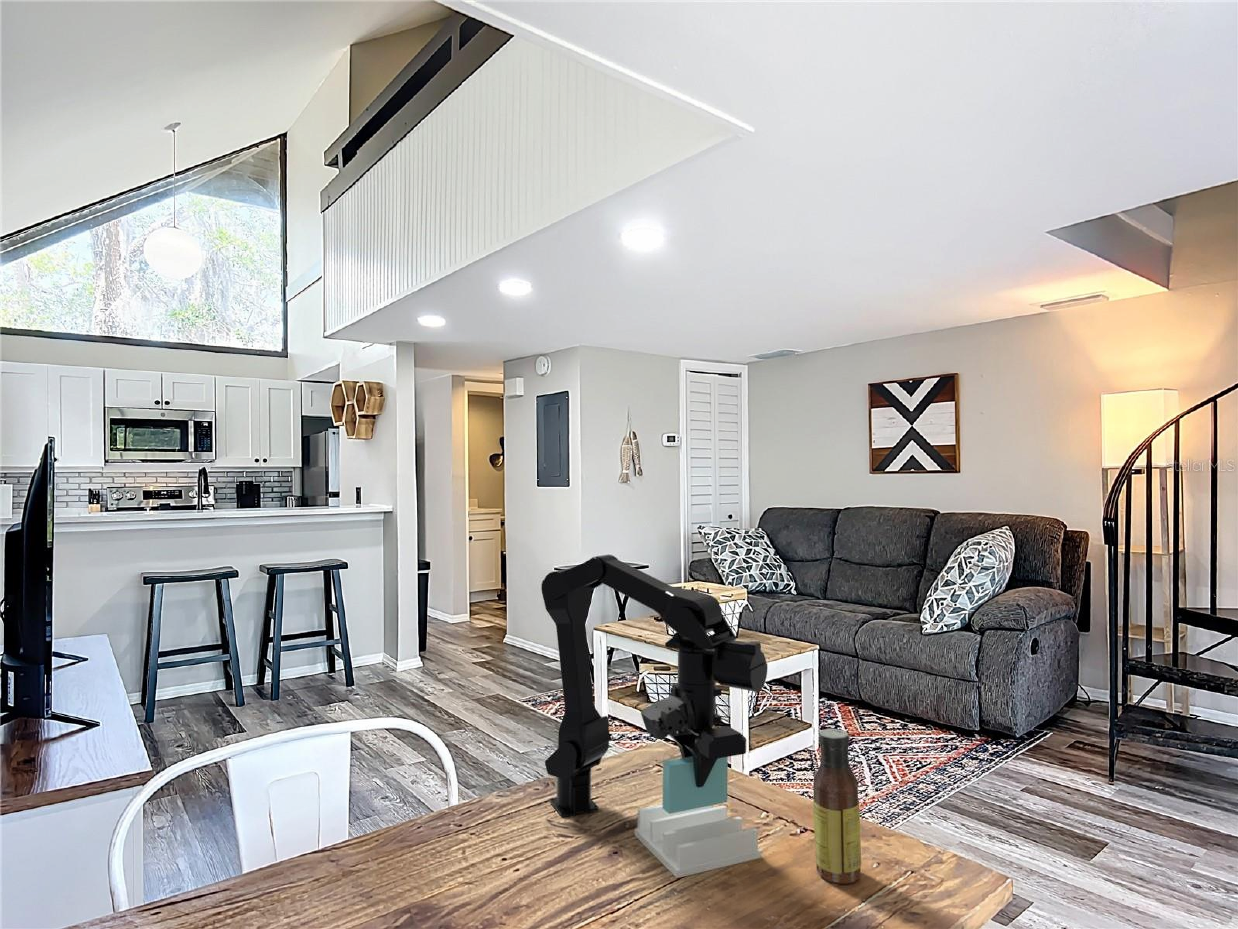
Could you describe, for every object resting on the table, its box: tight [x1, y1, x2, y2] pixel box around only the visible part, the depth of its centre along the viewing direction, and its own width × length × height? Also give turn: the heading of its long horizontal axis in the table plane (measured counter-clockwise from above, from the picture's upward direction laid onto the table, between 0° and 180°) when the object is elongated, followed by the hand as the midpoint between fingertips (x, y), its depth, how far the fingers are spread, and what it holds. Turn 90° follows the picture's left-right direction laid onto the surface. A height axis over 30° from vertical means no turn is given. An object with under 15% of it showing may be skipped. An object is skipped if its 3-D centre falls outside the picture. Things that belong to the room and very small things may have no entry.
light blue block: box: [662, 756, 729, 814], centre depth 116 cm, size 2×10×7 cm, turn 114°
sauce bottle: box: [812, 728, 862, 885], centre depth 108 cm, size 6×6×20 cm
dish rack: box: [634, 803, 762, 879], centre depth 116 cm, size 14×14×4 cm
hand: (695, 784), depth 116 cm, fingers closed on light blue block, 2 cm apart
